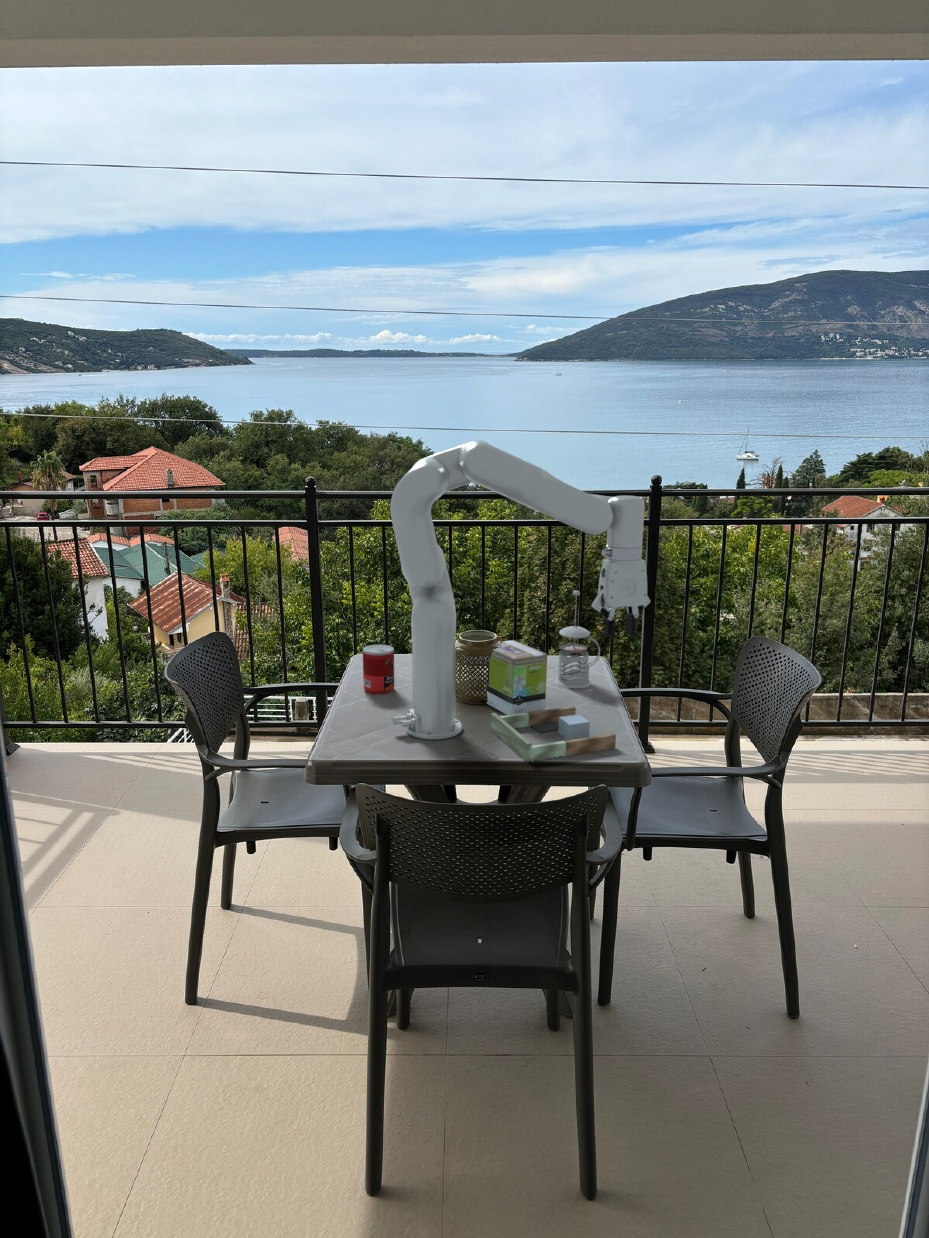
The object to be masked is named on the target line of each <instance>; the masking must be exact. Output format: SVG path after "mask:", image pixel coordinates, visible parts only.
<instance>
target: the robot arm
mask: <svg viewBox="0 0 929 1238" xmlns="http://www.w3.org/2000/svg"><path fill="white" fill-rule="evenodd" d="M472 483H473V484H476V485H479V486H481V487H483V488H485V489H486V490H489V491H492V492H495V493H496V494H499V495H501V496H503V497H506V498H508V499H510V500H511V501H514V502H517V503H518V504H521V505H522V506H525V507H527V508H528V509H531V510H533V511H536V512H539V513H541V514H544V515H546V516H548V517H550V518H552V519H554V520H555V521H556V520H557V521H558V522H561V523H563V524H565V525H568V526H570V527H571V528H574V529H576V530H578V531H581V532H583V533H585V534H589V535H592V536H593V535H596V536H597V535H601V534H603V533H605V532H606V546H605V549H602V550H601V556H602V557H605V559H603V561H602V565H601V569H600V572H599V573H600V574H599V580H598V589H597V595H596V597H595V598H594V600H593V602H592V603H591V608H593V609H594V610H595V611H597V612H598V613H599V614H600V615H601V616H602V618H603V619H604V624H603V633H604V635H605V636H606V637H607V638H609V639H610V638H611V639H614V638H615V636H616V620H614V617H615V614H616V610H617V609H618V608H626V611H627V615H625V617H624V629H623V630H624V633H625V634H626V635H629V636H630V637H634V636H635V631H636V628H637V627H636V626H637V619H638V618H639V617H640V614H641V613H642V611H643V610H644V609H645V608H646V607H648V605H649V604H650V603H651V599H650V598H649V596H648V575H647V574H648V573H647V567H646V565H647V564H646V560H644V559H642V553H643V538H644V537H643V534H644V520H645V519H644V518H645V517H644V516H645V502H644V499H643V498H642V497H640V496H636V495H616V496H610V495H609V496H608V495H607V496H606V495H600V494H593V493H587V492H585V491H584V490H581V489H579V488H576V487H574V486H573V485H570V484H568V483H567V482H564V481H563V480H561V479H559V478H557V477H556V476H554V475H553V474H551V473H550V472H548V471H547V470H545V469H543V468H541V467H539V466H538V465H535V464H533V463H531V462H529V461H527V460H524V459H522V458H521V457H520V458H519V457H517V456H515V455H513V454H511V453H508V452H507V451H504V450H502V449H500V448H497V447H495V446H493V445H491V444H490V443H488V442H487V441H484V440H479V439H478V440H472V441H469V442H467V443H466V442H465V444H461V445H458V446H456V447H453V448H450V449H447V450H444V451H441V452H438V453H435V454H433V455H429V456H426V457H423V458H421V459H419V460H417V462H415V463H414V464H413V466H412V467H411V468H410V469H409V470H408V471H407V473H405V474H404V475H403V476H402V477H401V479H400V480H399V481H398V482H397V484H396V486H395V488H394V489H393V493H392V496H391V500H390V516H391V523H392V528H393V532H394V537H395V538H394V539H395V543H396V548H397V551H398V556H399V561H400V566H401V567H400V568H401V572H402V576H403V577H404V579H405V580H406V582H407V585H408V589H409V593H410V597H411V602H412V609H411V616H410V617H411V622H410V625H411V626H410V627H411V629H410V630H411V658H412V659H411V661H412V662H411V665H412V708H409V709H408V713H405V715H395V716H391V723H392V725H393V726H398V725H400V727H401V728H405V730H406V732H407V733H408V734H409V735H410V736H411V737H414V738H417V739H422V740H444V739H449V738H452V737H456V736H457V735H459V734H460V733H461V732H462V730H463V725H462V722H461V721H460V720H459V719H457V718H456V638H457V637H456V635H457V634H456V631H457V611H456V603H455V597H454V592H453V589H452V583H451V579H450V575H449V571H448V565H447V561H446V558H445V553H444V551H443V549H442V548H441V546H440V545H439V544H438V541H437V540H438V539H437V536H436V532H435V526H434V523H433V519H432V507H433V504H434V503H435V502H436V501H437V500H438V499H440V498H441V497H442V496H443V495H444V494H445V492H448V491H450V490H454V489H457V488H460V487H464V486H466V485H469V484H472ZM602 605H604V606H602Z"/></svg>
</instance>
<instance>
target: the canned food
mask: <svg viewBox="0 0 929 1238" xmlns="http://www.w3.org/2000/svg"><path fill="white" fill-rule="evenodd" d="M362 670H363V672H362V673H363V674H362V677H363V678H362V679H363V690H364V691H365V692H366V693H368V694H372V695H383V694H384V695H385V694H389V693H392V692H393V691H394V690H395V648H394V647H393V646H391V645H387V644H371V645H367V646H364V647H363V648H362Z"/></svg>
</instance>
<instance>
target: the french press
mask: <svg viewBox="0 0 929 1238" xmlns="http://www.w3.org/2000/svg"><path fill="white" fill-rule="evenodd" d="M580 595H581V592H580V590H577V589H575V590H573V591H572V596H575V601H578V600H577V599H578V598H577V597H578V596H580ZM574 608H575V610H574V625H571V626H566V627H563V628H562V629H560V630H559V631H558V633H559V635H560V636H561V637H563V638H567V639H573V643H567V644H565V643H564V644H562V645H561V646H560V647H559V648H560V651H559V652H558V671H557V672H558V673H557V674H558V676H557V678H556V679H554V681H555V682H554V681H553V683H554V684H555V685H556V684H557V685H558V687H561V688H564V689H569V688H582V689H585V687H586V686H588V685H589V684H590V682H591V681H590V680H589V674H590V673H589V671H590V667H592V666H594V665H595V664H596V663H597V662H598V661H599V660H600V656H601V648H600V645H599V643H598V641H597V639H595V638H593V637H592V636H590V635H591V632H590V630H588V629H586V628H584V627H582V626H578V625H576V623H577V621H576V620H577V605H575V607H574ZM587 637H588V639H587V641H588V644H590V643H591V641H593V642H594V643H595V644H596V645H597V647H598V652H597V656H596V657H595V659H594V660H593V661H591V662H589V656H590V655H589V652H588V650H589V648H588V646H586V645H583V644H579V643H575V642H576V639H585V638H587ZM572 654H573V655H572ZM574 654H575V655H574ZM577 654H579V655H577ZM570 655H571V656H570ZM573 663H574V664H573ZM575 663H576V664H575ZM557 685H556V686H557Z"/></svg>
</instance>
